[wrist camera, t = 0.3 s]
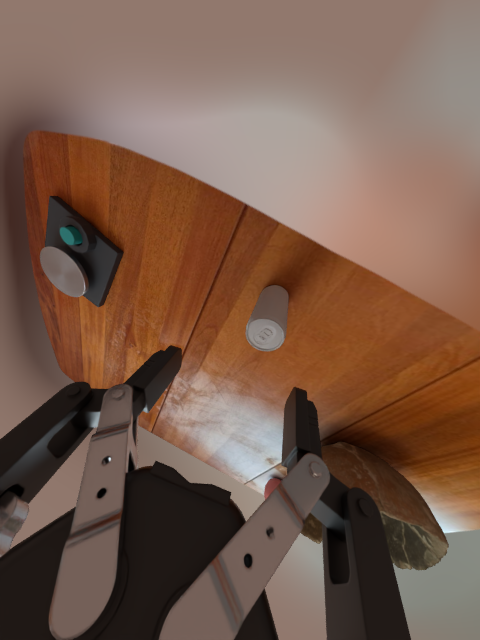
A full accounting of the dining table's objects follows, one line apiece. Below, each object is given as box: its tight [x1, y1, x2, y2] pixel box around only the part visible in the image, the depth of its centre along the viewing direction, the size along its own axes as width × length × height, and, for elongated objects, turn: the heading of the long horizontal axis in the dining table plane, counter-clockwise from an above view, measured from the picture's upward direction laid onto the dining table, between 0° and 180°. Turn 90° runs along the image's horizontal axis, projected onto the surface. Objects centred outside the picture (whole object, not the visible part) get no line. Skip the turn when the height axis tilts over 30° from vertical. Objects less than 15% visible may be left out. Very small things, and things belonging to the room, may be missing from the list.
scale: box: [45, 196, 124, 307], centre depth 36 cm, size 17×14×3 cm
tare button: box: [60, 227, 83, 245], centre depth 32 cm, size 3×3×2 cm
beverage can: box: [246, 285, 289, 351], centre depth 26 cm, size 5×5×12 cm
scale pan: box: [40, 246, 89, 297], centre depth 37 cm, size 10×10×1 cm
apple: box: [264, 478, 281, 500], centre depth 59 cm, size 7×7×8 cm
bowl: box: [300, 442, 448, 570], centre depth 41 cm, size 28×27×15 cm
